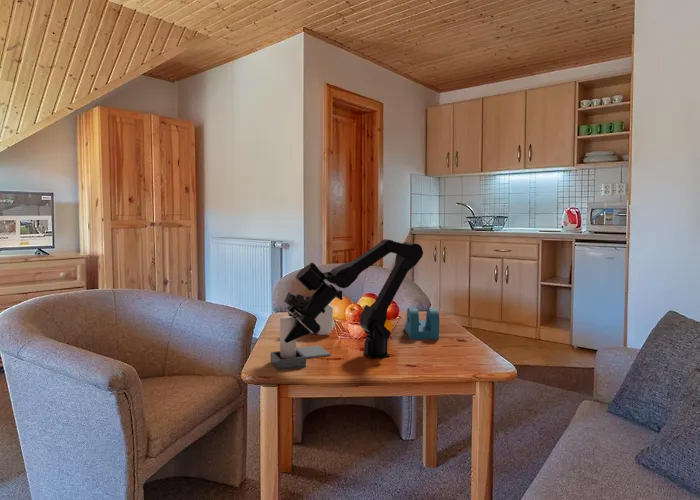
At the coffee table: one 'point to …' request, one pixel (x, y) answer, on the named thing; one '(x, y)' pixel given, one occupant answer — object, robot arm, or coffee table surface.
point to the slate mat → (313, 351)
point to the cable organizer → (325, 321)
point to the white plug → (285, 327)
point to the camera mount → (422, 324)
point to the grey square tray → (288, 361)
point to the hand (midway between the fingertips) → (283, 339)
